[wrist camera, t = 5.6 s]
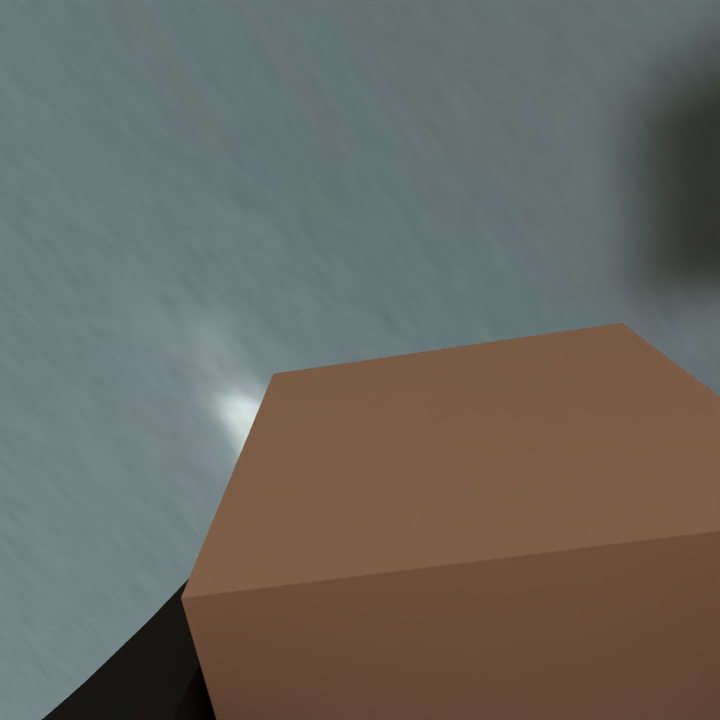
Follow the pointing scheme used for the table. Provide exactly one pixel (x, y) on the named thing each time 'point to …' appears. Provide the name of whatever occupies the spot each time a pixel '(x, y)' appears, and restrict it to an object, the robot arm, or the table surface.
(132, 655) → the robot arm
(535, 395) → the terracotta block
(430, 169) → the table surface
